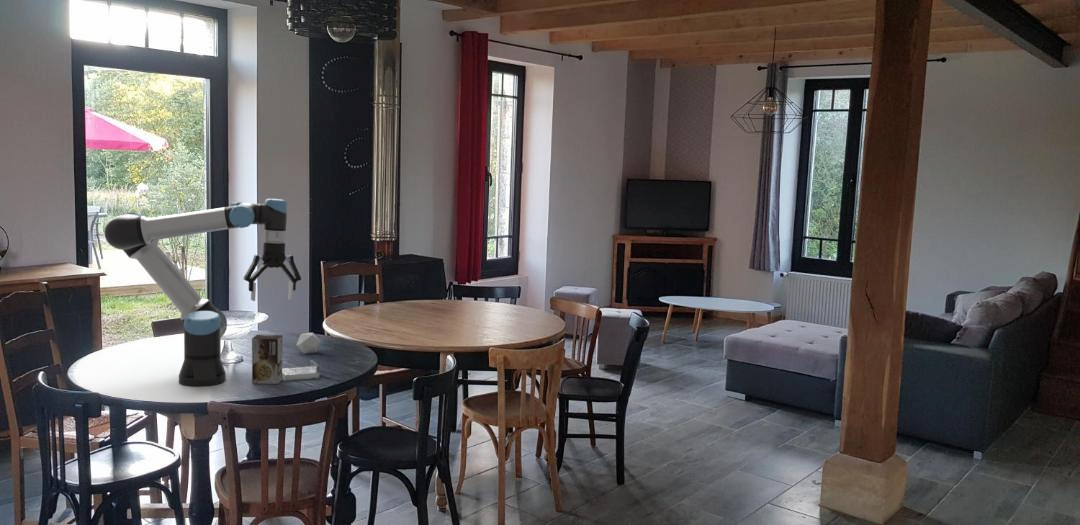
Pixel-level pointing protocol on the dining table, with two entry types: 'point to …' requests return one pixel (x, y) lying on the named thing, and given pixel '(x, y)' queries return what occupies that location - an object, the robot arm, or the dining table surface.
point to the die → (308, 343)
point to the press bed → (301, 372)
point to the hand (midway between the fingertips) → (271, 300)
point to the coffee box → (267, 359)
